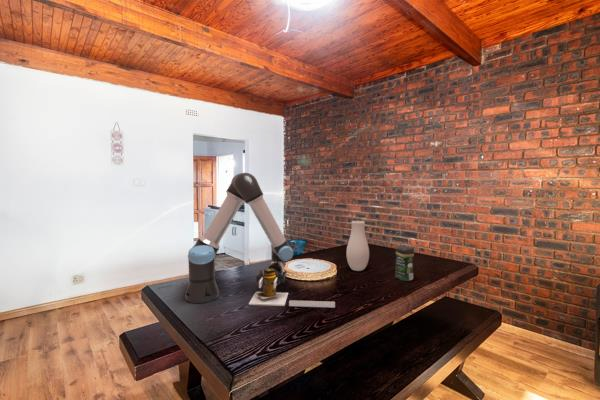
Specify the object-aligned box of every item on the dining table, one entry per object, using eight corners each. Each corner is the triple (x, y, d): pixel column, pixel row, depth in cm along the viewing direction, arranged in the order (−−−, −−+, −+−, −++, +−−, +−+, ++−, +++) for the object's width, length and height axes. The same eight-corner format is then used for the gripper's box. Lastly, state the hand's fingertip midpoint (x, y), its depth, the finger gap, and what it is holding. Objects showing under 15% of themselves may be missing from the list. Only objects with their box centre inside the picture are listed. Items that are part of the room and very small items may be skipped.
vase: (341, 268, 187) (342, 220, 185) (359, 265, 193) (360, 219, 191) (354, 274, 175) (355, 223, 173) (373, 271, 180) (374, 222, 178)
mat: (248, 304, 132) (248, 303, 132) (255, 292, 146) (255, 291, 146) (284, 305, 131) (284, 304, 131) (288, 293, 145) (288, 292, 145)
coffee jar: (392, 277, 170) (393, 245, 168) (402, 275, 173) (403, 243, 172) (405, 282, 161) (406, 248, 160) (415, 280, 164) (416, 247, 163)
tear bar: (289, 306, 131) (289, 301, 131) (289, 304, 132) (289, 300, 132) (334, 307, 129) (334, 303, 129) (334, 306, 131) (334, 301, 131)
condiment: (279, 295, 138) (279, 270, 137) (262, 299, 133) (262, 273, 132) (272, 290, 144) (272, 266, 143) (256, 294, 139) (255, 269, 138)
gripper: (293, 277, 155) (288, 293, 132) (257, 276, 157) (246, 292, 134) (293, 262, 155) (288, 277, 132) (257, 262, 156) (246, 276, 133)
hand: (267, 285), depth 133 cm, fingers closed on condiment, 6 cm apart
